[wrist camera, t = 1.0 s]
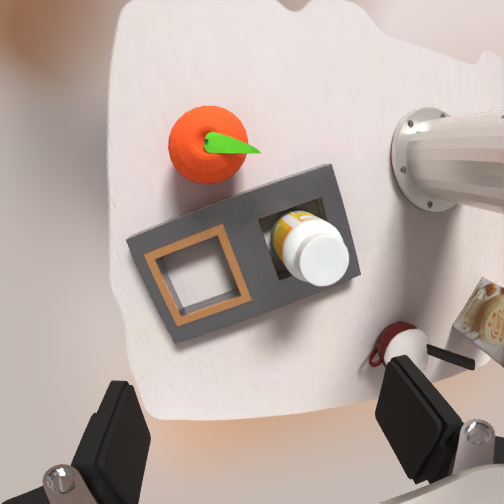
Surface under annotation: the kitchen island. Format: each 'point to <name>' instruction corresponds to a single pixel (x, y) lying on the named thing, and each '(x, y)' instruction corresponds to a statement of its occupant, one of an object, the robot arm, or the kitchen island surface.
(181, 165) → the clementine
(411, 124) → the robot arm
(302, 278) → the supplement bottle
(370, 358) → the cocoa
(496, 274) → the kitchen island surface
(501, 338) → the coffee box
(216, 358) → the kitchen island surface
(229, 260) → the two-pocket grey tray
